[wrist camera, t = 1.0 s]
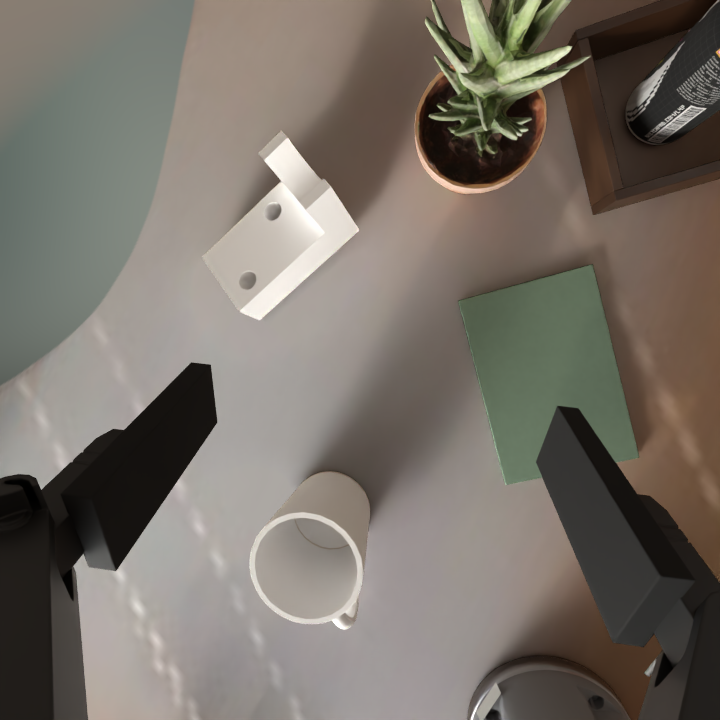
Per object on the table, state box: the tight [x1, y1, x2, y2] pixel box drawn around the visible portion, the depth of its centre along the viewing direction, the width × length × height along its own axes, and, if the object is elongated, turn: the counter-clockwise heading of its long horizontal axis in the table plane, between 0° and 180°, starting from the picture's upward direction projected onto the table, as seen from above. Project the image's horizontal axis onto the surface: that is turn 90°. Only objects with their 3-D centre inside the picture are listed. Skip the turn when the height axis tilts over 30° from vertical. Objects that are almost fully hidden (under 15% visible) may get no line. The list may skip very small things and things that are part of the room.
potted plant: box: [415, 0, 591, 194], centre depth 24 cm, size 10×10×25 cm
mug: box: [249, 471, 371, 629], centre depth 35 cm, size 11×9×10 cm
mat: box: [458, 264, 639, 485], centre depth 37 cm, size 18×12×1 cm, turn 15°
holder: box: [557, 0, 720, 215], centre depth 32 cm, size 14×14×4 cm
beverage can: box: [626, 0, 720, 145], centre depth 28 cm, size 6×6×12 cm
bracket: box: [202, 131, 359, 320], centre depth 36 cm, size 13×7×8 cm, turn 130°
